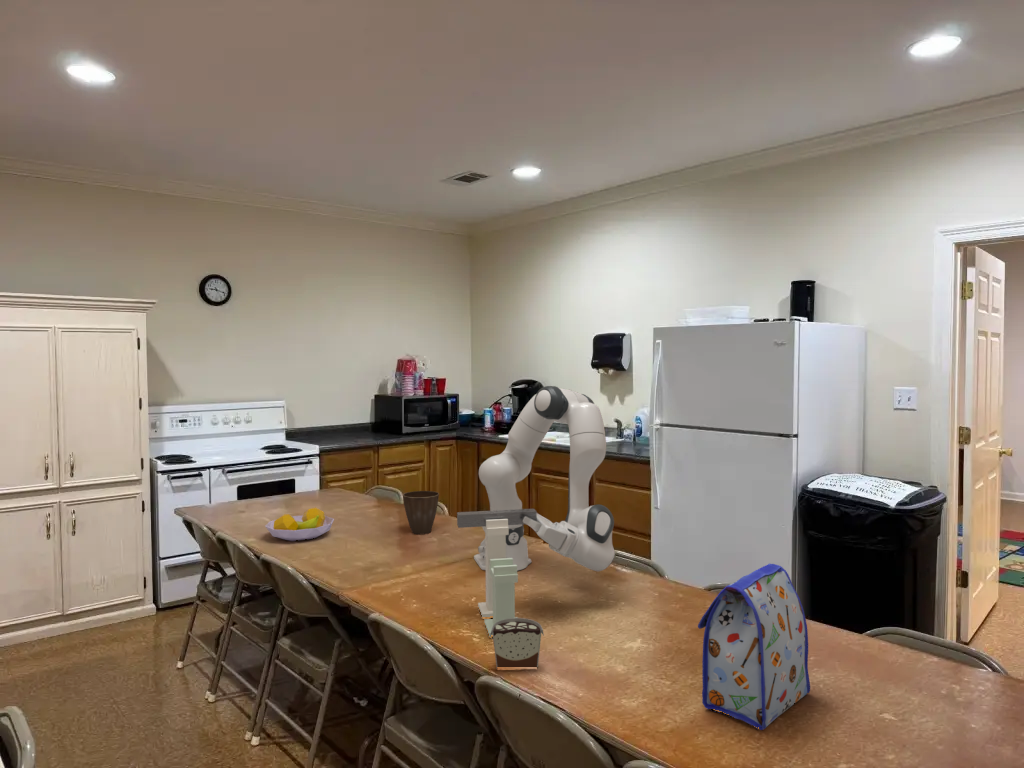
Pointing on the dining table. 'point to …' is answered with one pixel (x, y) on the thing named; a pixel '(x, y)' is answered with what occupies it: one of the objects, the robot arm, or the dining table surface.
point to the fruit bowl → (300, 525)
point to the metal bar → (494, 517)
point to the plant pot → (421, 510)
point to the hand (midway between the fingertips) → (520, 515)
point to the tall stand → (493, 557)
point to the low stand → (502, 590)
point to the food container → (517, 642)
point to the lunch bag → (755, 648)
